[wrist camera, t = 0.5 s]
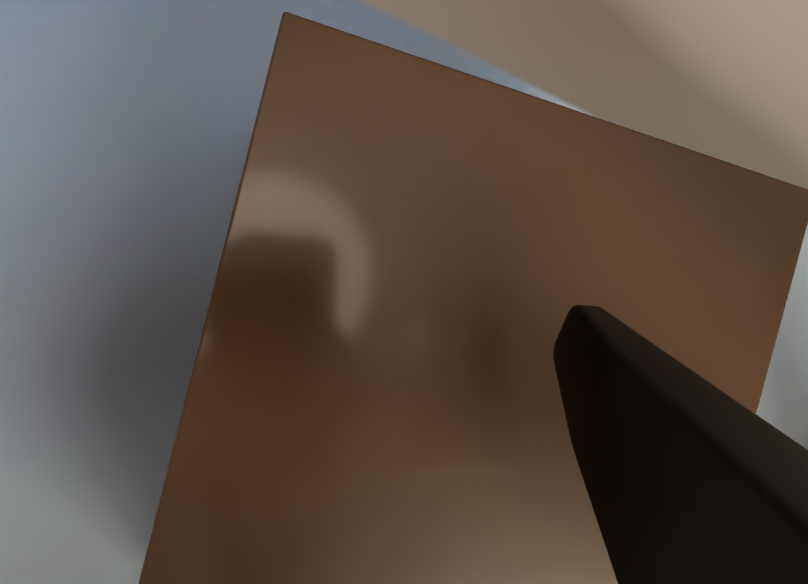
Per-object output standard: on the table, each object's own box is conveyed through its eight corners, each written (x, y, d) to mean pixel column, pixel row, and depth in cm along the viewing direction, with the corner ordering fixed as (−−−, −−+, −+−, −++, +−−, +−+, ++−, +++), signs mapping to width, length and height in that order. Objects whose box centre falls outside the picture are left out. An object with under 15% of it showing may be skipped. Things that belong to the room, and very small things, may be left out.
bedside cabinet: (510, 496, 26) (683, 688, 15) (207, 439, 23) (129, 618, 12) (583, 218, 26) (816, 192, 14) (285, 128, 23) (283, 9, 12)
